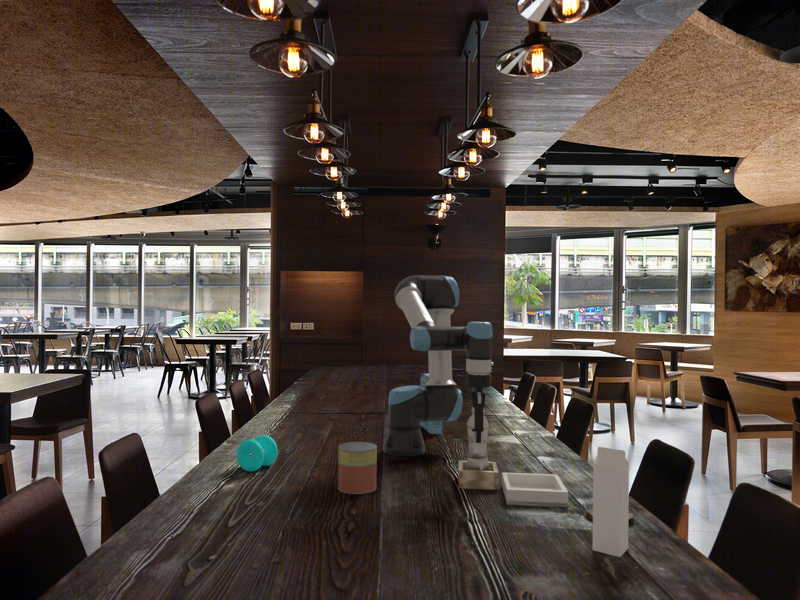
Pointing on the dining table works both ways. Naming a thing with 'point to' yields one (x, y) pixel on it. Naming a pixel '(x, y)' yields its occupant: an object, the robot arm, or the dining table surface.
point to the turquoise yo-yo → (257, 453)
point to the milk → (610, 501)
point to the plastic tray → (534, 490)
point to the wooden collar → (478, 477)
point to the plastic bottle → (473, 459)
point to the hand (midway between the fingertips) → (477, 450)
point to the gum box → (430, 426)
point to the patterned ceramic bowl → (590, 513)
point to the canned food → (357, 467)
